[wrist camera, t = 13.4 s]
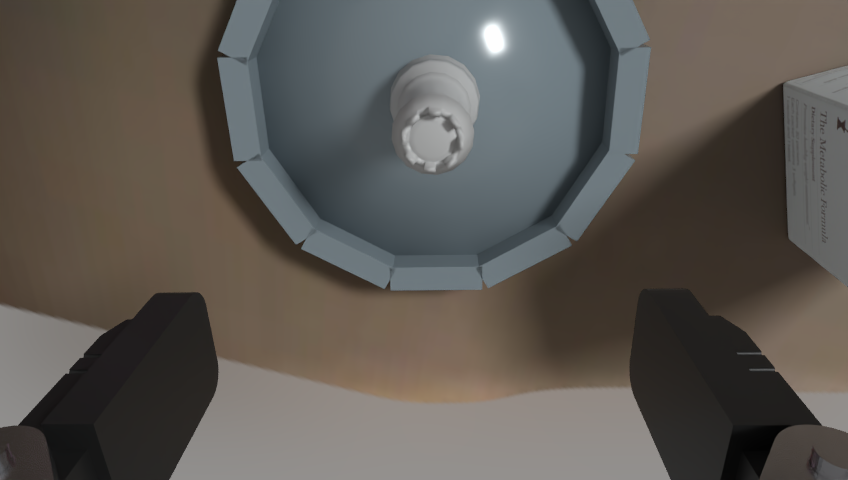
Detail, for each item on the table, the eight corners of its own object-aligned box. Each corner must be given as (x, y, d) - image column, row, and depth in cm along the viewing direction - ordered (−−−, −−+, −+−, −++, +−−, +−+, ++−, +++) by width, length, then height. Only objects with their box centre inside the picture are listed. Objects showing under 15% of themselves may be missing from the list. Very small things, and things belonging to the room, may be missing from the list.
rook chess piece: (403, 41, 29) (390, 66, 22) (491, 68, 29) (507, 101, 22) (380, 128, 31) (361, 179, 24) (463, 153, 31) (470, 210, 24)
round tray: (654, -137, 27) (674, -147, 24) (609, 267, 35) (621, 288, 33) (207, -122, 27) (186, -129, 25) (267, 270, 36) (255, 291, 33)
